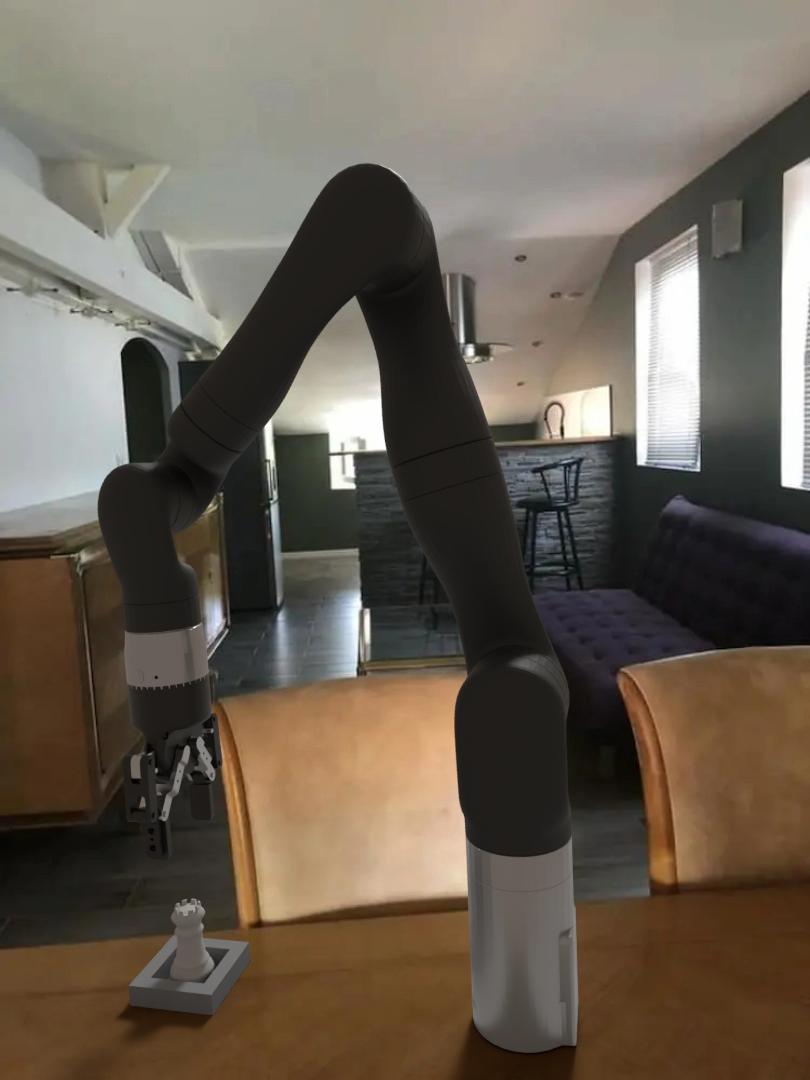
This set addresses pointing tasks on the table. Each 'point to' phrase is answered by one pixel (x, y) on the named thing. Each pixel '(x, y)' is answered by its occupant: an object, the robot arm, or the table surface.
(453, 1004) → the table surface
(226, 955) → the socket plinth
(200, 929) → the rook chess piece
